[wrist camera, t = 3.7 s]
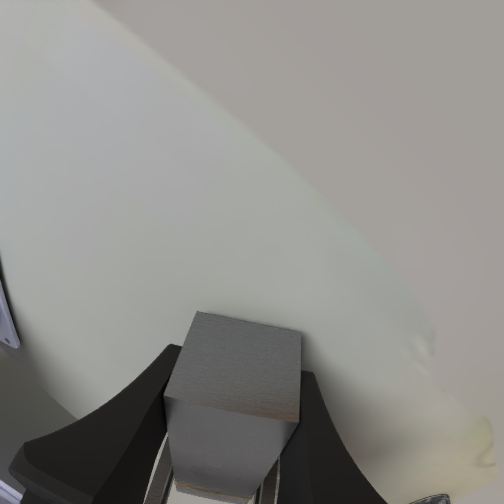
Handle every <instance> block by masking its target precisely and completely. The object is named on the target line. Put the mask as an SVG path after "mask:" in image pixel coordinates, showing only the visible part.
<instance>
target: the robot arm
mask: <svg viewBox="0 0 504 504" xmlns="http://www.w3.org/2000/svg"><path fill="white" fill-rule="evenodd" d="M0 341H2V342H4V343H5V344H7V345H9V346H11V347H13V348H15V349H17V348H18V347H19V346H20V341H19V339H18V336H17V333H16V330H15V327H14V324H13V321H12V318H11V315H10V312H9V309H8V306H7V302H6V299H5V295H4V292H3V288H2V284H1V280H0ZM181 349H182V346H178V345H174V344H169V345H168V346H167V347H166V348H165V349H164V350H163V352H162V353H161V354H160V355H159V356H158V357H157V358H156V359H155V360H154V361H153V362H152V363H151V364H150V365H149V367H148V368H147V369H145V370H144V371H143V372H142V373H141V374H140V375H139V376H138V377H137V378H136V379H135V380H134V381H133V382H132V383H130V384H129V385H128V386H127V387H126V388H124V389H123V390H122V391H121V392H120V393H119V394H117V395H116V396H115V397H113V398H112V399H111V400H109V401H108V402H107V403H105V404H104V405H102V406H101V407H99V408H98V409H96V410H95V411H93V412H92V413H90V414H88V415H87V416H85V417H83V418H82V419H80V420H78V421H76V422H74V423H72V424H70V425H68V426H66V427H64V428H62V429H60V430H58V431H55V432H53V433H51V434H48V435H45V436H43V437H40V438H37V439H34V440H31V441H28V442H25V443H24V444H23V446H22V447H21V448H20V449H19V451H18V452H17V454H16V455H15V457H14V459H13V461H12V463H11V464H10V466H9V468H8V470H9V473H10V474H11V475H12V476H13V477H14V478H15V479H16V480H17V481H19V483H21V484H22V485H23V486H24V487H25V488H26V491H25V493H24V495H22V494H20V493H19V492H17V491H16V490H14V489H13V488H11V487H10V486H8V485H7V484H5V483H4V482H3V481H1V480H0V504H143V502H144V498H145V494H146V490H147V487H148V483H149V479H150V476H151V473H152V469H153V466H154V463H155V459H156V457H157V454H158V451H159V449H160V446H161V444H162V442H163V440H164V437H165V435H166V433H167V423H166V414H165V405H164V396H163V395H164V392H165V390H166V387H167V385H168V382H169V380H170V377H171V375H172V372H173V369H174V367H175V364H176V362H177V359H178V357H179V354H180V352H181ZM277 504H387V503H386V501H385V500H384V499H383V498H382V497H381V496H380V495H379V494H378V493H377V492H376V490H375V489H374V488H373V487H372V485H371V484H370V483H369V482H368V480H367V479H366V478H365V477H364V475H363V474H362V473H361V471H360V470H359V468H358V467H357V465H356V464H355V462H354V461H353V459H352V458H351V456H350V455H349V453H348V451H347V449H346V448H345V446H344V444H343V442H342V440H341V439H340V437H339V435H338V433H337V431H336V429H335V427H334V424H333V422H332V420H331V418H330V415H329V413H328V411H327V409H326V406H325V404H324V401H323V398H322V396H321V393H320V390H319V387H318V384H317V381H316V378H315V375H314V373H313V372H307V371H301V378H300V408H299V423H298V425H297V427H296V428H295V430H294V432H293V434H292V435H291V437H290V439H289V440H288V442H287V444H286V445H285V447H284V448H283V450H282V452H281V453H280V483H279V491H278V498H277Z"/></svg>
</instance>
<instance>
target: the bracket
mask: <svg viewBox="0 0 504 504" xmlns="http://www.w3.org/2000/svg"><path fill="white" fill-rule="evenodd" d="M277 467H278V460H276V461H275V463H274V464H273V466H272V468H271V469H270V471H269V472H268V474H267V475H266V477H265V478H264V480H263V481H262V483H261V490H260V498H259V504H274V499H275V489H276V478H277ZM171 469H172V459H171V453H170V446H169V438H168V437H167V439H166V442H165V445H164V448H163V451H162V454H161V456H160V459H159V462H158V465H157V468H156V471H155V474H154V477H153V480H152V483H151V485H150V489H149V491H148V494H147V497H146V500H145V503H144V504H161V501H162V498H163V495H164V492H165V489H166V485H167V482H168V479H169V476H170V473H171Z"/></svg>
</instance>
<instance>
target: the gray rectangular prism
mask: <svg viewBox="0 0 504 504" xmlns="http://www.w3.org/2000/svg"><path fill="white" fill-rule="evenodd" d="M300 378H301V332H298V331H293V330H287V329H282V328H276V327H271V326H266V325H260V324H255V323H250V322H245V321H240V320H235V319H231V318H226V317H221V316H217V315H212V314H208V313H203V312H199V311H197V312H196V315H195V317H194V319H193V322H192V324H191V327H190V329H189V332H188V334H187V337H186V339H185V342H184V344H183V347H182V349H181V352H180V354H179V357H178V359H177V362H176V364H175V367H174V369H173V372H172V375H171V377H170V380H169V382H168V385H167V387H166V390H165V392H164V395H163V396H164V405H165V414H166V423H167V431H168V438H169V446H170V453H171V459H172V466H173V472H174V478H175V481H174V483H175V485H176V489H177V491H179V492H183V493H187V494H191V495H195V496H199V497H204V498H208V499H213V500H218V501H224V502H229V503H235V504H247V503H248V502H249V500H251V499H252V496H253V494H254V493H255V492H256V490H257V489H258V487H259V486H260V484H261V483H262V481H263V480H264V478H265V477H266V475H267V474H268V472H269V471H270V469H271V468H272V466H273V464H274V463H275V461H276V460H277V458H278V457H279V455H280V453H281V452H282V450H283V448H284V447H285V445H286V444H287V442H288V440H289V439H290V437H291V435H292V434H293V432H294V430H295V428H296V427H297V425H298V423H299V408H300Z"/></svg>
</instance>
